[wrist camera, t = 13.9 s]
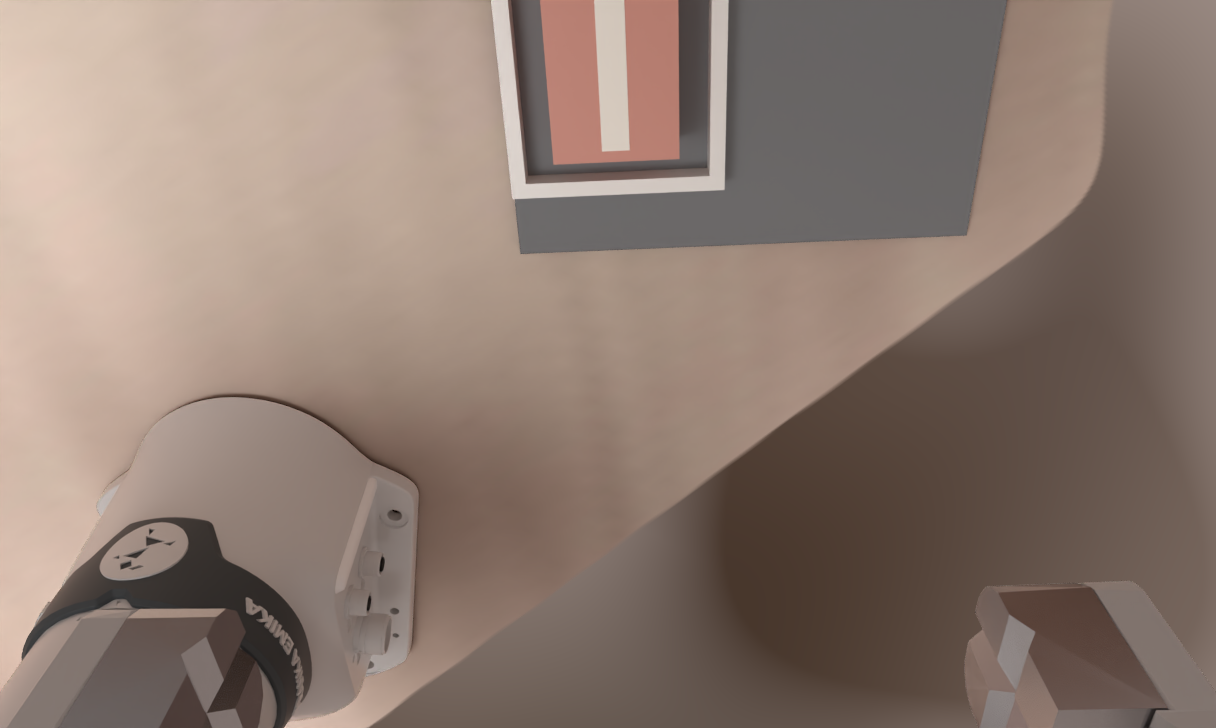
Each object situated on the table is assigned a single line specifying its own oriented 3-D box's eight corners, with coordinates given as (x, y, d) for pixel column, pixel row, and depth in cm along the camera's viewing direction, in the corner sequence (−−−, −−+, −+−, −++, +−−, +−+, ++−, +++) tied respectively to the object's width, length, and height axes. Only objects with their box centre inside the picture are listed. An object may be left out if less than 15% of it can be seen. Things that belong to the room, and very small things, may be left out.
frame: (721, 181, 42) (724, 190, 41) (514, 190, 42) (512, 199, 41) (728, -143, 35) (731, -143, 34) (481, -130, 35) (476, -129, 34)
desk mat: (963, 232, 44) (966, 235, 43) (521, 250, 44) (520, 253, 44) (1047, -261, 33) (1052, -262, 33) (470, -228, 34) (469, -228, 34)
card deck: (540, -70, 37) (534, -63, 34) (673, -77, 36) (678, -71, 34) (557, 144, 41) (553, 165, 39) (675, 138, 41) (679, 159, 38)
